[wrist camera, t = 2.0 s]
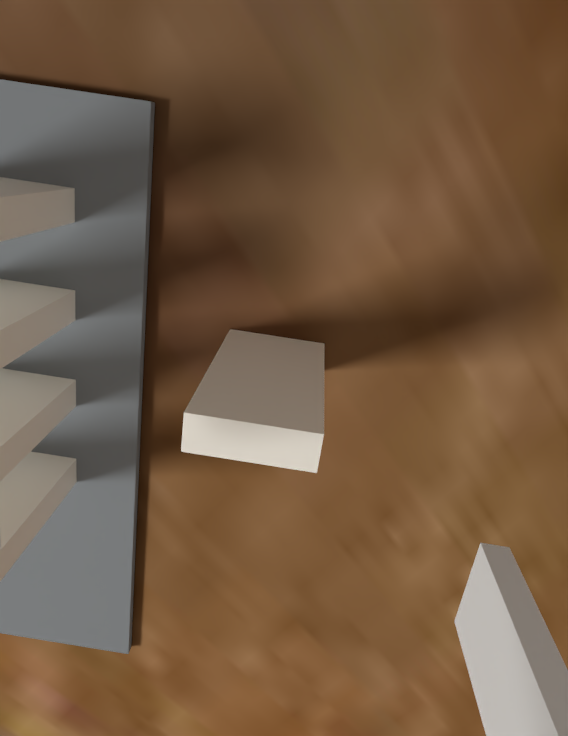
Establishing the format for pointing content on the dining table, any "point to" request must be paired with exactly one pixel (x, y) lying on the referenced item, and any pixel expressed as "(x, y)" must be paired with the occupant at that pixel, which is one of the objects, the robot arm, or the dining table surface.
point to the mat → (84, 354)
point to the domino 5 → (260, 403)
